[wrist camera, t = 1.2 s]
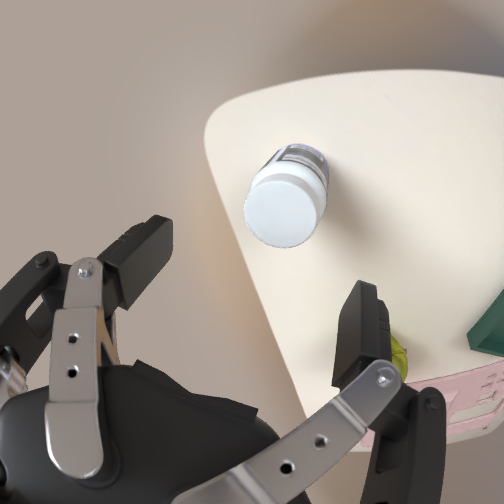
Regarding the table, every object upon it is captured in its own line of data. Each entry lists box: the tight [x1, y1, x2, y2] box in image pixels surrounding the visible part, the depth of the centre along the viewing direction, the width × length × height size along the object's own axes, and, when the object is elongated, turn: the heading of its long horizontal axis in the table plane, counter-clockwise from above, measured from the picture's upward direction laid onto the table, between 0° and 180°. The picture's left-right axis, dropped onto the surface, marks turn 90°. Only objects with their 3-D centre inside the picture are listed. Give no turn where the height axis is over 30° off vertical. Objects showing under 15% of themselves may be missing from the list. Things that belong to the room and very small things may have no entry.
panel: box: [361, 361, 504, 447], centre depth 35 cm, size 35×33×2 cm
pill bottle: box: [244, 144, 329, 248], centre depth 17 cm, size 5×5×8 cm
